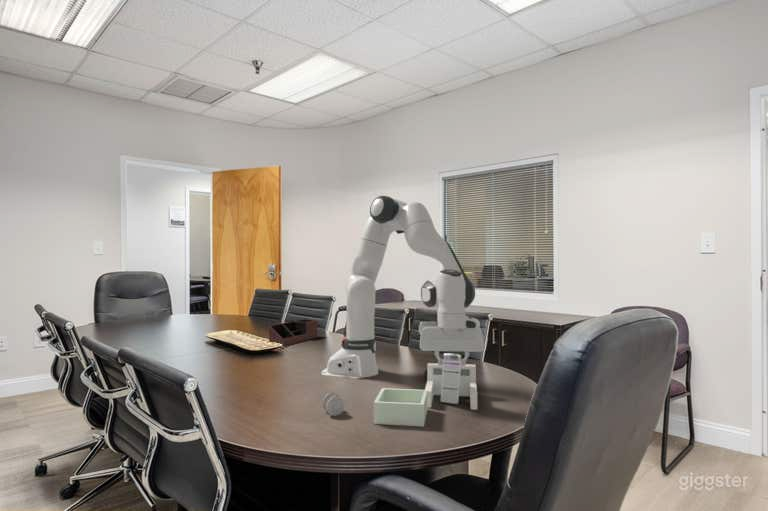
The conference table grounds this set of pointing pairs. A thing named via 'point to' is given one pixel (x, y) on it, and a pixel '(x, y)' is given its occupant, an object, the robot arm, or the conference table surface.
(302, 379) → the conference table surface
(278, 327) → the desk organizer
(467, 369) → the bay
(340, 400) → the twin embossed discs
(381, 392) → the tray
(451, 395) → the syrup box
